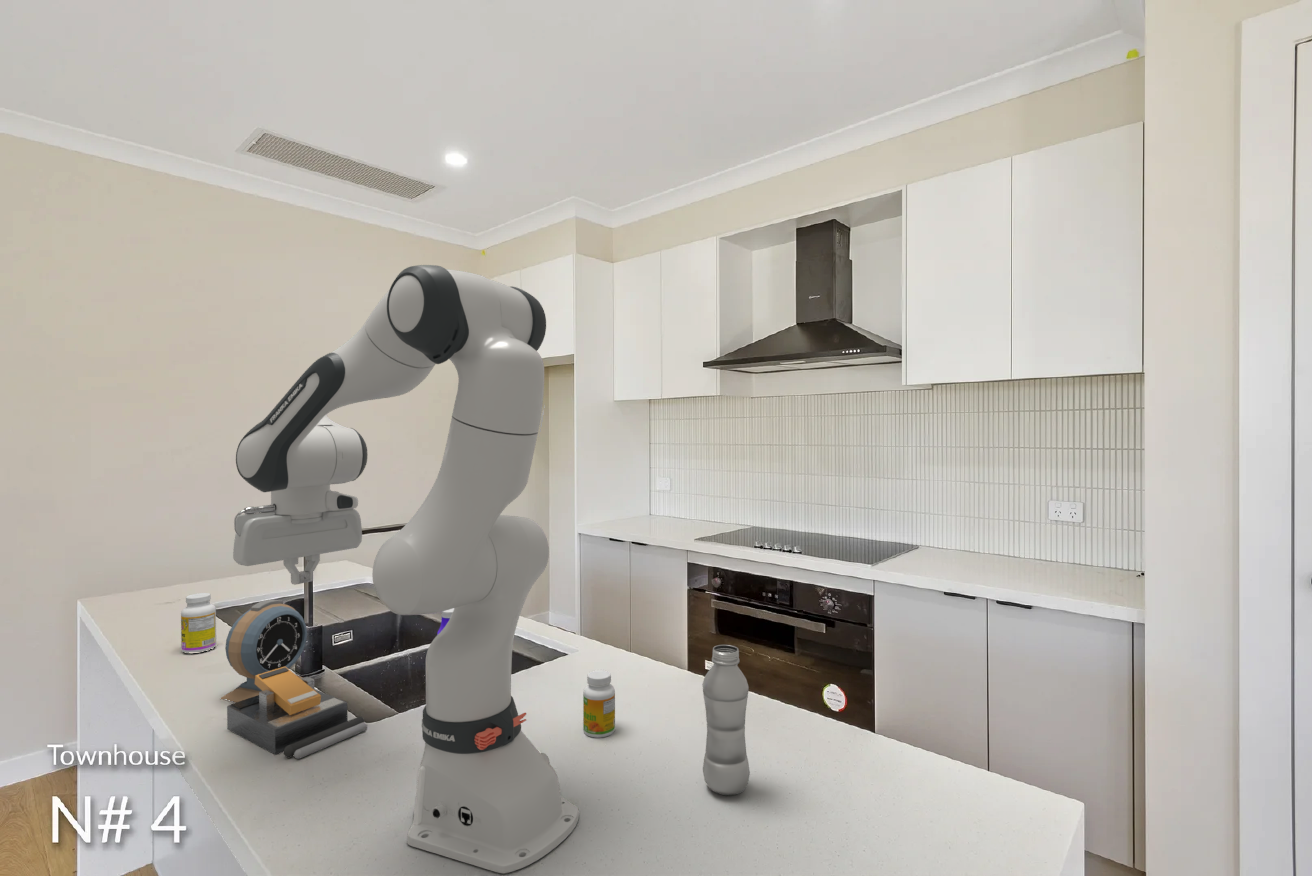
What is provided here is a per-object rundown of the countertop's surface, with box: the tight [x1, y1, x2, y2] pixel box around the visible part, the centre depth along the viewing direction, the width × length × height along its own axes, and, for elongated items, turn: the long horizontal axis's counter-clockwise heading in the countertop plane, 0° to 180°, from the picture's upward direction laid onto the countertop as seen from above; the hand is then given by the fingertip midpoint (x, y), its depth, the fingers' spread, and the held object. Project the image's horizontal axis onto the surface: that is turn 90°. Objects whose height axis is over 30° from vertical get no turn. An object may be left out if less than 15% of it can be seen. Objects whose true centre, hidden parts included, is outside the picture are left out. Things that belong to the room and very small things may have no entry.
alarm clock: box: [220, 599, 308, 703], centre depth 126 cm, size 14×10×18 cm
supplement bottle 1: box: [180, 592, 217, 653], centre depth 148 cm, size 7×7×13 cm
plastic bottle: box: [702, 644, 751, 796], centre depth 91 cm, size 6×7×20 cm
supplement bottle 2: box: [582, 669, 616, 739], centre depth 108 cm, size 5×5×10 cm
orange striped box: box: [255, 667, 321, 715], centre depth 110 cm, size 12×5×2 cm, turn 57°
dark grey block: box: [226, 676, 349, 756], centre depth 110 cm, size 16×12×7 cm
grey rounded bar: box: [283, 715, 368, 760], centre depth 104 cm, size 13×3×2 cm, turn 147°
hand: (302, 582), depth 109 cm, fingers closed
